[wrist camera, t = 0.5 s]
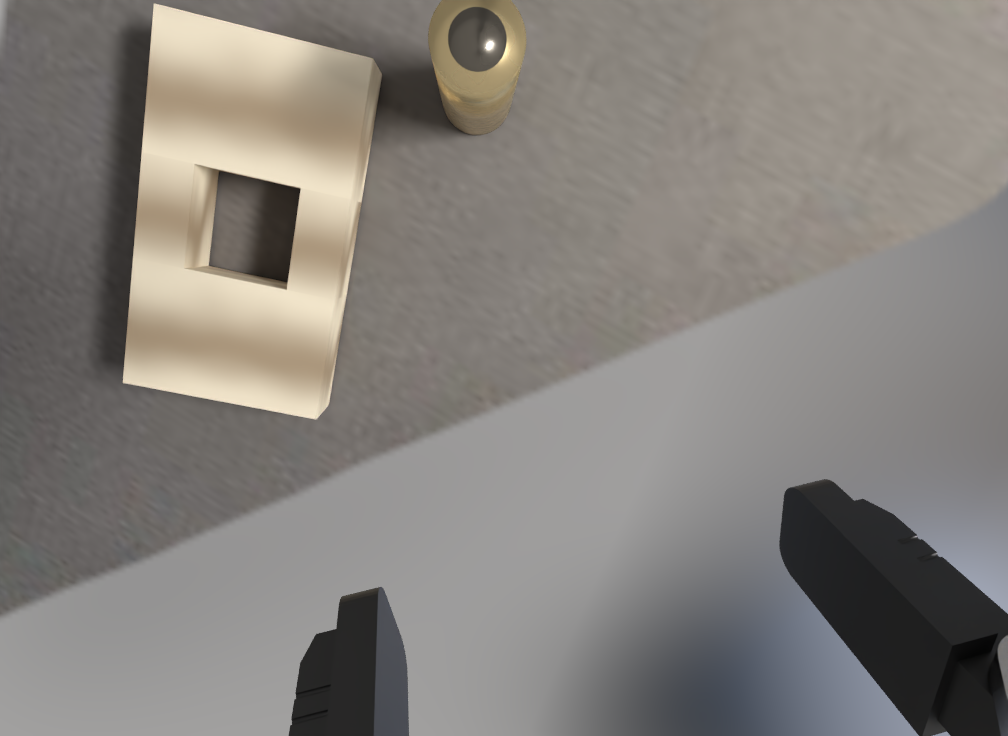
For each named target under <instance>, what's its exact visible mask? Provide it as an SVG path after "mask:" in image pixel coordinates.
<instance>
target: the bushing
mask: <svg viewBox="0 0 1008 736" xmlns="http://www.w3.org/2000/svg"><path fill="white" fill-rule="evenodd" d="M428 42H429V49H430V53H431V58H432V62H433V66H434V70H435V74H436V78H437V82H438V87H439V91H440V95H441V99H442V103H443V107H444V110H445V113H446V115H447V117H448V119H449V120H450V121H451V123H452V124H453V125H454V126H455V127H457V128H458V129H459V130H461V131H463V132H465V133H468V134H472V135H483V134H487V133H490V132H492V131H494V130H495V129H497V128H498V127H499V126H500V125H501V124H502V123H503V122H504V120H505V119H506V117H507V115H508V113H509V110H510V106H511V102H512V99H513V95H514V91H515V88H516V84H517V80H518V76H519V73H520V69H521V65H522V61H523V58H524V54H525V48H526V31H525V27H524V23H523V20H522V17H521V15H520V13H519V11H518V10H517V8H516V6H515V5H514V4H513V3H512V1H511V0H442V1H441V2H440V4H439V5H438V6H437V8H436V10H435V12H434V14H433V16H432V19H431V22H430V26H429V33H428Z"/></svg>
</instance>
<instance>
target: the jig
mask: <svg viewBox="0 0 1008 736" xmlns="http://www.w3.org/2000/svg"><path fill="white" fill-rule="evenodd" d="M381 79H382V73H381V72H380V70H379V68H378V66H377V65H376V63H375V61H374V59H373V58H369V57H365V56H361V55H357V54H353V53H349V52H345V51H341V50H337V49H333V48H329V47H325V46H321V45H317V44H313V43H309V42H305V41H301V40H297V39H293V38H290V37H286V36H282V35H278V34H274V33H270V32H266V31H262V30H258V29H254V28H250V27H246V26H242V25H238V24H234V23H230V22H226V21H222V20H218V19H214V18H210V17H206V16H202V15H198V14H194V13H190V12H186V11H182V10H178V9H174V8H170V7H166V6H162V5H158V4H154V9H153V22H152V34H151V46H150V58H149V70H148V82H147V94H146V107H145V119H144V131H143V143H142V155H141V167H140V179H139V192H138V204H137V216H136V228H135V240H134V252H133V265H132V277H131V289H130V301H129V313H128V325H127V337H126V350H125V362H124V374H123V383H127V384H132V385H137V386H143V387H148V388H153V389H158V390H164V391H169V392H174V393H180V394H185V395H190V396H195V397H201V398H206V399H211V400H216V401H222V402H227V403H232V404H238V405H243V406H248V407H253V408H259V409H264V410H269V411H274V412H280V413H285V414H290V415H296V416H301V417H306V418H311V419H317V418H318V417H319V416H320V414H321V413H322V412H323V411H324V410H325V409H326V408H327V406H328V405H329V401H330V394H331V388H332V382H333V376H334V370H335V363H336V357H337V351H338V345H339V339H340V333H341V326H342V320H343V314H344V308H345V302H346V295H347V289H348V283H349V277H350V271H351V264H352V258H353V252H354V246H355V240H356V234H357V227H358V221H359V215H360V209H361V203H362V196H363V190H364V184H365V178H366V172H367V165H368V159H369V153H370V147H371V141H372V135H373V128H374V122H375V116H376V110H377V104H378V97H379V91H380V85H381ZM219 170H220V171H224V172H228V173H233V174H237V175H242V176H246V177H250V178H255V179H259V180H264V181H268V182H272V183H277V184H281V185H286V186H290V187H294V188H299V189H301V190H300V198H299V205H298V212H297V219H296V226H295V233H294V241H293V248H292V255H291V262H290V269H289V276H288V282H283V281H278V280H274V279H269V278H264V277H259V276H255V275H250V274H245V273H240V272H236V271H231V270H226V269H221V268H217V267H212V266H209V257H210V248H211V239H212V230H213V221H214V212H215V203H216V193H217V184H218V175H219Z"/></svg>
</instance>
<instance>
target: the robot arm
mask: <svg viewBox="0 0 1008 736" xmlns="http://www.w3.org/2000/svg"><path fill="white" fill-rule="evenodd" d="M780 552H781V556H782V559H783V562H784V564H785V566H786V568H787V570H788V572H789V573H790V575H791V576H792V577H793V579H794V580H795V581H796V582H797V584H798V585H799V586H800V587H801V589H802V590H803V591H804V592H805V594H806V595H807V596H808V597H809V599H810V600H811V601H812V602H813V604H814V605H815V606H816V607H817V609H818V610H819V611H820V612H821V614H822V615H823V616H824V617H825V619H826V620H827V621H828V622H829V624H830V625H831V626H832V628H833V629H834V630H835V631H836V633H837V634H838V635H839V636H840V638H841V639H842V640H843V641H844V643H845V644H846V645H847V646H848V648H849V649H850V650H851V651H852V652H853V653H854V655H855V656H856V657H857V659H858V660H859V661H860V662H861V664H862V665H863V666H864V668H865V669H866V670H867V671H868V673H869V674H870V675H871V676H872V678H873V679H874V680H875V681H876V683H877V684H878V685H879V686H880V688H881V689H882V690H883V691H884V692H885V694H886V695H887V696H888V698H889V699H890V700H891V701H892V703H893V704H894V705H895V706H896V708H897V709H898V710H899V711H900V713H902V715H903V716H904V718H905V719H906V720H907V721H908V722H909V724H910V725H911V726H912V727H913V729H914V730H915V731H916V733H917V734H918V735H919V736H932V735H936V734H939V733H942V732H946V731H947V732H948V733H949V734H950V735H951V736H1008V614H1007V613H1006V612H1005V611H1004V610H1003V609H1001V608H1000V607H999V606H998V605H997V604H996V603H994V602H993V601H992V600H991V599H990V598H988V596H986V595H985V594H984V593H983V592H982V591H981V590H979V589H978V588H977V587H976V586H975V585H974V584H973V583H972V582H970V581H969V580H968V579H967V578H966V577H965V576H964V575H962V574H961V573H960V572H959V571H958V570H957V569H956V568H954V567H953V566H952V565H951V564H950V563H949V562H947V561H946V560H945V559H944V558H943V557H939V556H938V555H937V552H936V551H935V550H934V549H932V548H931V547H930V546H929V545H928V544H927V543H926V542H925V541H923V540H922V539H921V540H919V539H918V537H917V535H916V534H915V533H914V532H913V531H912V530H911V529H910V528H908V527H907V526H906V525H905V524H904V523H903V522H902V521H900V520H899V519H898V518H897V517H896V516H895V515H893V514H892V513H890V512H888V511H886V510H884V509H882V508H880V507H878V506H876V505H874V504H872V503H870V502H868V501H866V500H864V499H861V500H856V501H854V500H852V499H851V497H849V496H848V495H847V494H846V493H845V492H844V491H843V490H842V489H841V488H839V487H838V486H837V485H836V484H835V483H834V482H832V481H830V480H827V479H824V480H820V481H815V482H812V483H807V484H803V485H799V486H795V487H791V488H788V489H787V490H786V492H785V495H784V502H783V513H782V523H781V533H780ZM289 736H409V723H408V677H407V663H406V655H405V650H404V645H403V641H402V638H401V635H400V633H399V629H398V627H397V624H396V621H395V618H394V616H393V613H392V610H391V607H390V605H389V602H388V599H387V596H386V594H385V591H384V589H383V588H382V587H379V588H374V589H370V590H366V591H362V592H358V593H354V594H350V595H346V596H342V597H341V599H340V603H339V611H338V619H337V629H335V630H331V631H327V632H323V633H319V634H316V635H315V637H314V639H313V641H312V643H311V645H310V647H309V648H308V650H307V652H306V654H305V656H304V657H303V660H302V661H301V663H300V669H299V675H298V682H297V688H296V699H295V701H294V706H293V713H292V725H291V726H290V731H289Z"/></svg>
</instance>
